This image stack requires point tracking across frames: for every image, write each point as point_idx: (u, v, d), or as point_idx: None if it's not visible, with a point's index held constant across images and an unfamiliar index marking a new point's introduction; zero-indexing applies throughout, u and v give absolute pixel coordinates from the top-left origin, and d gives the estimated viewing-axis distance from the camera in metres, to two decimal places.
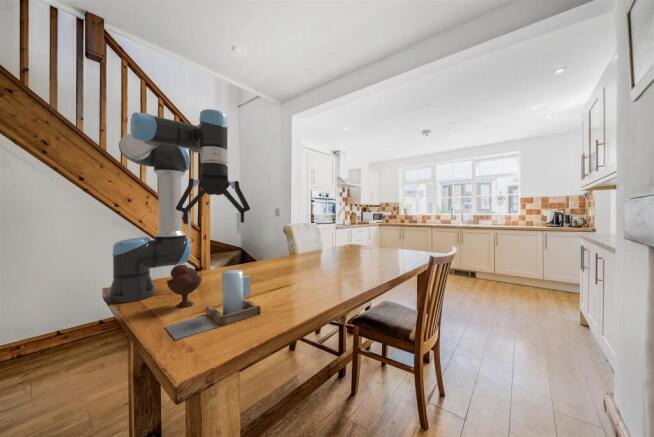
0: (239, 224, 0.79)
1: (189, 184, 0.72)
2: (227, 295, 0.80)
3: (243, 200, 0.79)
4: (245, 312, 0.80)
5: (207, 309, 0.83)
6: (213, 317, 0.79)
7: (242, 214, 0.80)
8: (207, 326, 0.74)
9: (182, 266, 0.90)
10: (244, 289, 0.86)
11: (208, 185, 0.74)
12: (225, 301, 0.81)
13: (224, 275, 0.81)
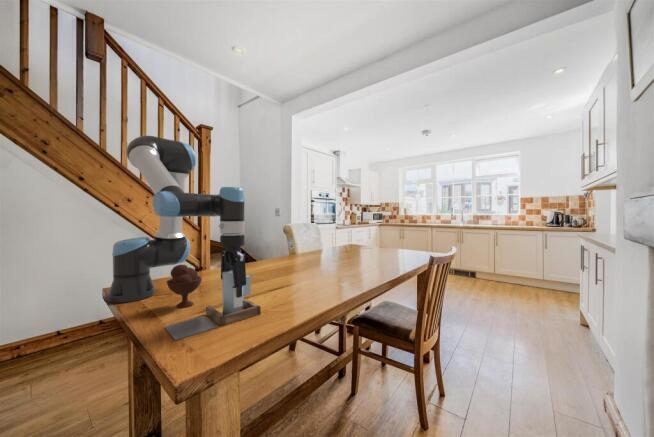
0: (233, 298, 0.80)
1: (221, 256, 0.87)
2: (227, 295, 0.80)
3: (237, 275, 0.78)
4: (245, 312, 0.80)
5: (207, 309, 0.83)
6: (213, 317, 0.79)
7: (237, 289, 0.80)
8: (207, 326, 0.74)
9: (182, 266, 0.90)
10: (244, 289, 0.86)
11: (224, 255, 0.83)
12: (225, 301, 0.81)
13: (224, 275, 0.81)
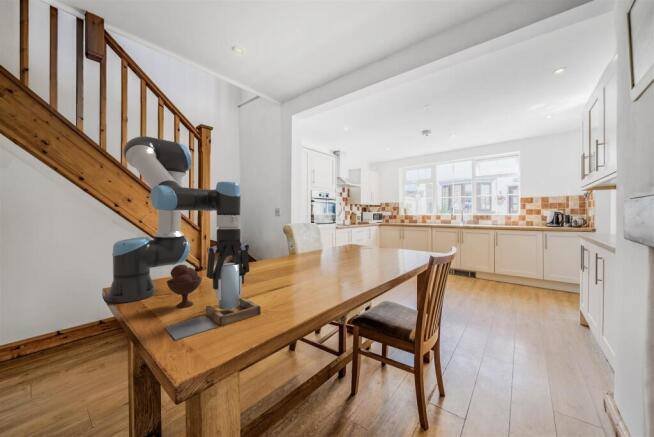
0: (240, 286, 0.87)
1: (211, 253, 0.80)
2: (237, 285, 0.85)
3: (246, 262, 0.89)
4: (245, 312, 0.80)
5: (207, 309, 0.83)
6: (213, 317, 0.79)
7: (242, 276, 0.88)
8: (207, 326, 0.74)
9: (182, 266, 0.90)
10: None
11: (226, 249, 0.83)
12: (236, 291, 0.84)
13: (235, 267, 0.84)
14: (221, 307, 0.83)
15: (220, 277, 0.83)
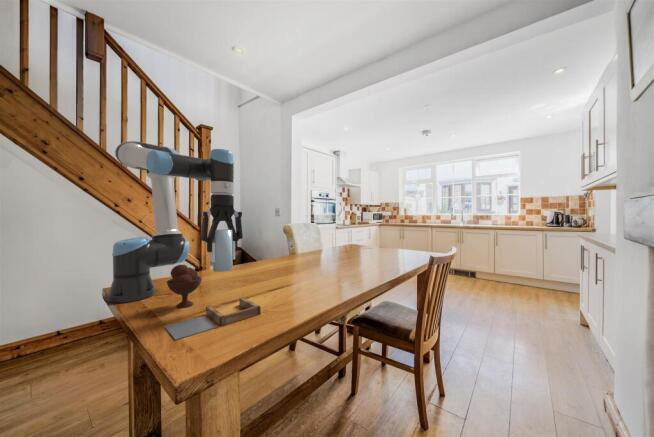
0: (234, 251, 0.91)
1: (205, 217, 0.84)
2: (231, 249, 0.89)
3: (240, 229, 0.92)
4: (245, 312, 0.80)
5: (207, 309, 0.83)
6: (213, 317, 0.79)
7: (236, 242, 0.92)
8: (207, 326, 0.74)
9: (182, 266, 0.90)
10: None
11: (219, 214, 0.86)
12: (229, 255, 0.88)
13: (228, 231, 0.87)
14: (215, 269, 0.86)
15: (214, 241, 0.86)
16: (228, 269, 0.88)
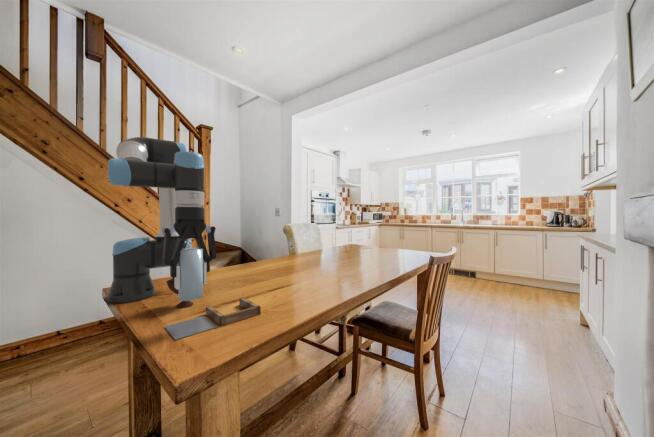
0: (205, 274, 0.75)
1: (167, 235, 0.68)
2: (200, 273, 0.73)
3: (212, 247, 0.77)
4: (245, 312, 0.80)
5: (207, 309, 0.83)
6: (213, 317, 0.79)
7: (208, 263, 0.76)
8: (207, 326, 0.74)
9: None
10: None
11: (186, 230, 0.71)
12: (198, 280, 0.72)
13: (197, 251, 0.72)
14: (180, 298, 0.71)
15: (179, 263, 0.71)
16: (197, 297, 0.72)
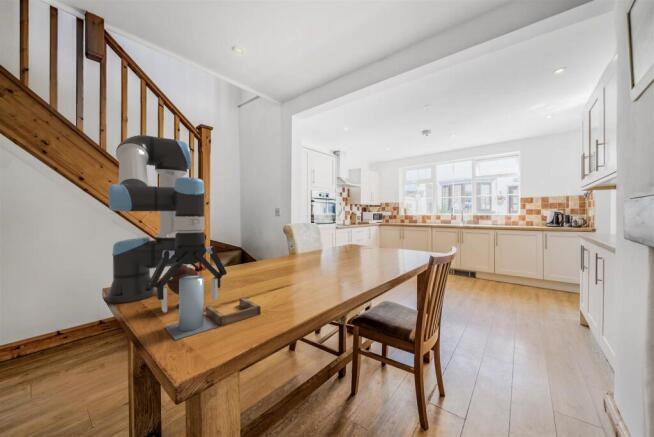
0: (216, 290, 0.78)
1: (165, 257, 0.68)
2: (201, 302, 0.73)
3: (220, 265, 0.78)
4: (245, 312, 0.80)
5: (207, 309, 0.83)
6: (213, 317, 0.79)
7: (218, 279, 0.79)
8: (207, 326, 0.74)
9: (182, 266, 0.90)
10: None
11: (185, 256, 0.71)
12: (199, 310, 0.73)
13: (198, 281, 0.72)
14: (180, 328, 0.71)
15: (180, 293, 0.71)
16: (197, 327, 0.72)
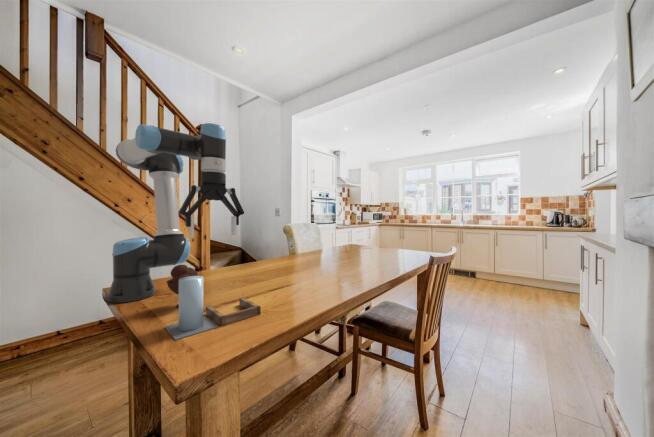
0: (235, 226, 0.88)
1: (192, 190, 0.79)
2: (201, 302, 0.73)
3: (238, 205, 0.89)
4: (245, 312, 0.80)
5: (207, 309, 0.83)
6: (213, 317, 0.79)
7: (237, 217, 0.90)
8: (207, 326, 0.74)
9: (182, 266, 0.90)
10: None
11: (209, 192, 0.82)
12: (199, 309, 0.73)
13: (198, 281, 0.72)
14: (180, 328, 0.71)
15: (179, 293, 0.71)
16: (197, 327, 0.72)
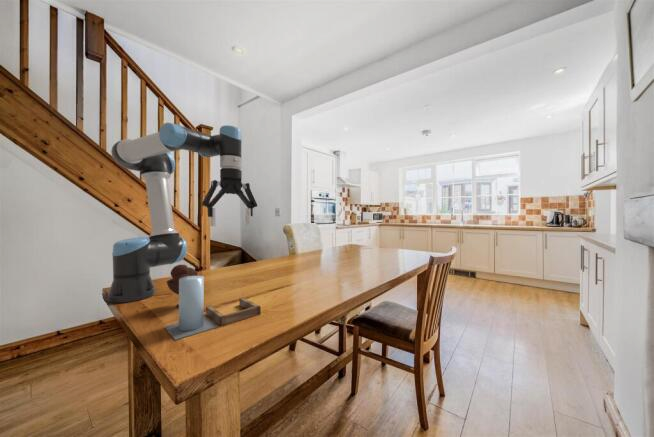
0: (249, 217, 0.99)
1: (214, 185, 0.90)
2: (201, 302, 0.73)
3: (252, 198, 1.00)
4: (245, 312, 0.80)
5: (207, 309, 0.83)
6: (213, 317, 0.79)
7: (251, 209, 1.00)
8: (207, 326, 0.74)
9: (182, 266, 0.90)
10: None
11: (228, 186, 0.92)
12: (199, 309, 0.73)
13: (198, 281, 0.72)
14: (180, 328, 0.71)
15: (180, 293, 0.71)
16: (197, 327, 0.72)
